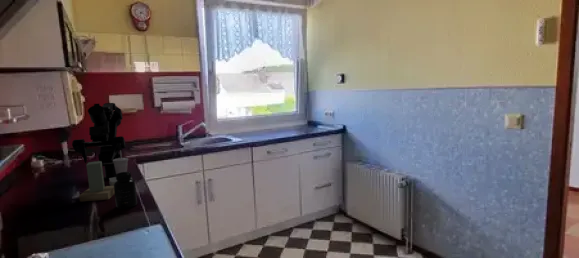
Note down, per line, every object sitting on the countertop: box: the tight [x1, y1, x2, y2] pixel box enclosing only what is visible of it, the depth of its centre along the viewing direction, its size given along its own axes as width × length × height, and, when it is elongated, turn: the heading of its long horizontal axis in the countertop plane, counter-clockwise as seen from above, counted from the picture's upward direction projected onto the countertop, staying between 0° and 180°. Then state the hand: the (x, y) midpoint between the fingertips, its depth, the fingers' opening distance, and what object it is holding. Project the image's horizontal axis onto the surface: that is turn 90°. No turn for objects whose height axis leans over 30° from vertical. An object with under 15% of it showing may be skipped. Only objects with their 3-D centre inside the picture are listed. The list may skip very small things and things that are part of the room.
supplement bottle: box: [114, 171, 138, 210], centre depth 117 cm, size 7×7×12 cm
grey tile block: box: [108, 177, 133, 186], centre depth 142 cm, size 8×8×4 cm
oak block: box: [78, 185, 115, 203], centre depth 130 cm, size 10×10×3 cm
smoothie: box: [113, 150, 129, 174], centre depth 152 cm, size 6×6×14 cm
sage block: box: [85, 160, 105, 193], centre depth 129 cm, size 5×5×11 cm
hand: (98, 161), depth 133 cm, fingers open, 9 cm apart
